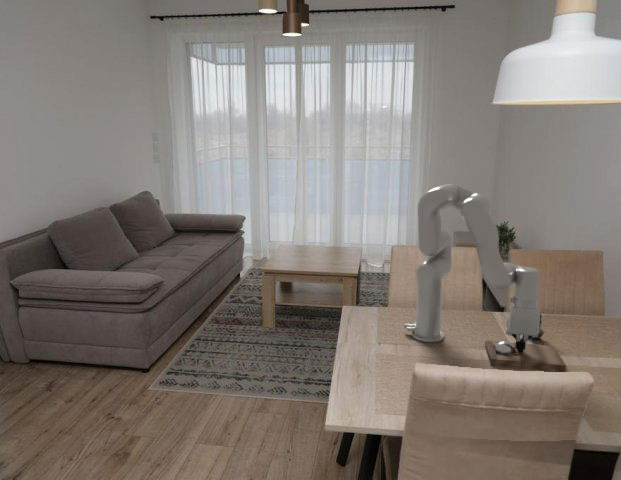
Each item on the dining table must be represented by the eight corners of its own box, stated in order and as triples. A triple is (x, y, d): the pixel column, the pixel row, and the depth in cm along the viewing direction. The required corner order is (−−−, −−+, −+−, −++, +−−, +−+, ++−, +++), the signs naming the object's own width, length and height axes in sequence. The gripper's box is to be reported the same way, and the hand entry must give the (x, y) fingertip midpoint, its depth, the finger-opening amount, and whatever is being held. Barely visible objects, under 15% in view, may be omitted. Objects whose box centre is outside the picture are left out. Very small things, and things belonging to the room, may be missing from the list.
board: (490, 365, 171) (491, 358, 170) (484, 346, 185) (485, 340, 184) (565, 372, 166) (565, 365, 165) (553, 352, 180) (553, 346, 180)
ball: (517, 357, 173) (500, 363, 174) (513, 349, 178) (498, 355, 180) (509, 342, 172) (493, 349, 174) (506, 335, 178) (490, 341, 179)
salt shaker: (544, 343, 188) (548, 314, 185) (528, 342, 189) (531, 312, 186) (540, 336, 193) (544, 308, 190) (525, 335, 194) (528, 307, 192)
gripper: (504, 304, 169) (499, 353, 173) (551, 307, 166) (544, 357, 170) (500, 297, 176) (496, 344, 180) (545, 300, 173) (539, 347, 177)
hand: (519, 350), depth 175 cm, fingers closed
